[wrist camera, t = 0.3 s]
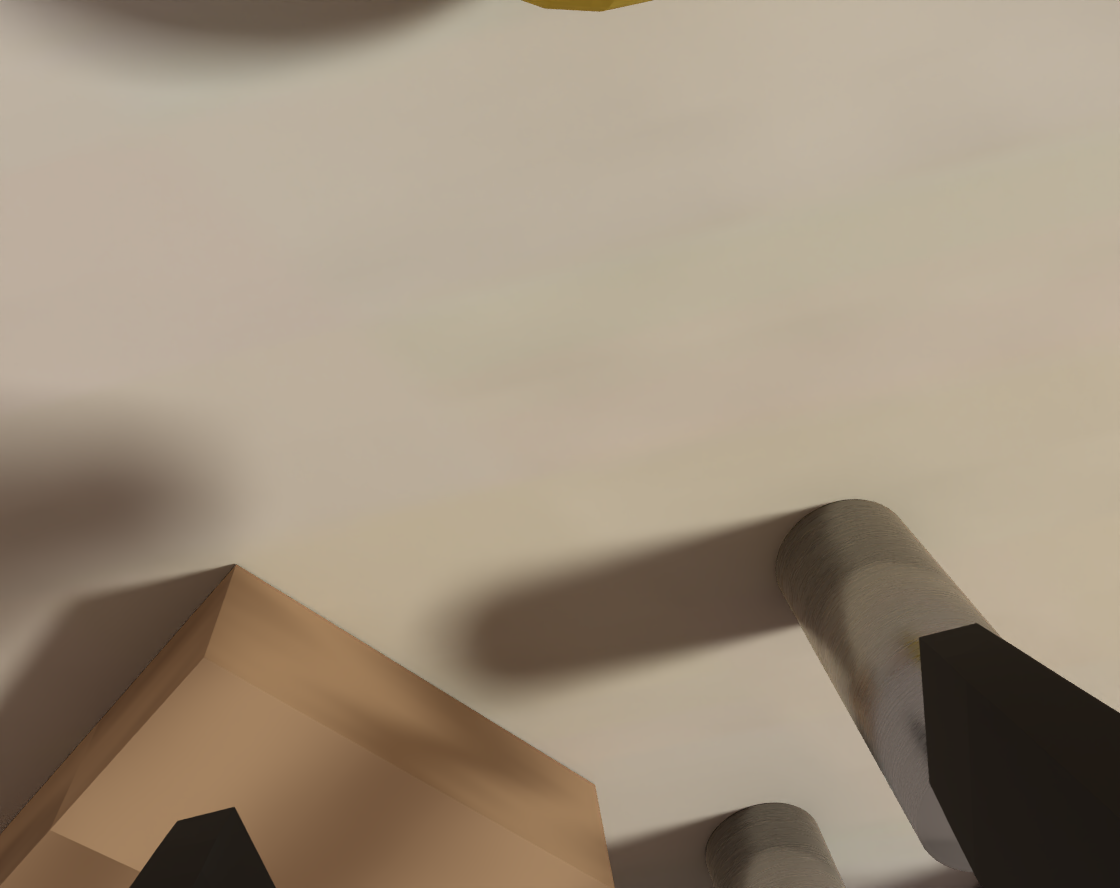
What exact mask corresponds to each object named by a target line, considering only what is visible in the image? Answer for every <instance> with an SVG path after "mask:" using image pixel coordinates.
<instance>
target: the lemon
mask: <svg viewBox="0 0 1120 888" xmlns="http://www.w3.org/2000/svg"><path fill="white" fill-rule="evenodd" d="M522 1H525V2H528V3H531V4H534V5H537V6H539V7H542V8H546V9H564V10H581V11H599V12H600V11H606V10H610V9H615V8H620V7H624V6H629V5H633V4H638V3H643V2H647V1H652V0H522Z"/></svg>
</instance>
